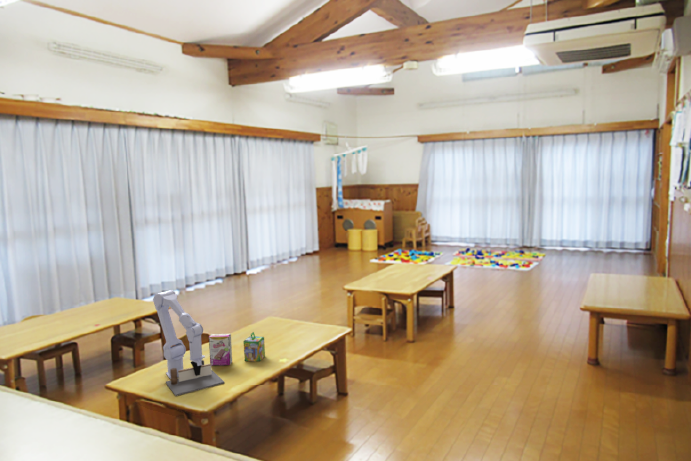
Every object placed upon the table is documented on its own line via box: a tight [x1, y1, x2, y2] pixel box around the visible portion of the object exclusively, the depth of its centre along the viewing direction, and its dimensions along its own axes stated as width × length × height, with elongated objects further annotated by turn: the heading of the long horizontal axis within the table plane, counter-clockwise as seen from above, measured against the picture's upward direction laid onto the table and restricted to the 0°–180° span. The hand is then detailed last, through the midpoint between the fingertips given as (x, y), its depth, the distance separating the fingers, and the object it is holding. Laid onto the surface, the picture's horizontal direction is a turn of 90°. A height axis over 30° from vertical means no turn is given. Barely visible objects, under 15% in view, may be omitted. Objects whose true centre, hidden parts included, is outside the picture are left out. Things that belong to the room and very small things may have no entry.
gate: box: [178, 363, 212, 382], centre depth 239 cm, size 16×1×5 cm, turn 121°
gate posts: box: [170, 359, 205, 385], centre depth 238 cm, size 3×17×8 cm, turn 133°
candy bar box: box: [208, 333, 233, 367], centre depth 258 cm, size 11×5×16 cm, turn 92°
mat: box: [165, 369, 225, 397], centre depth 235 cm, size 18×24×1 cm
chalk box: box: [243, 331, 266, 362], centre depth 265 cm, size 9×9×15 cm
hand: (197, 375), depth 238 cm, fingers closed
